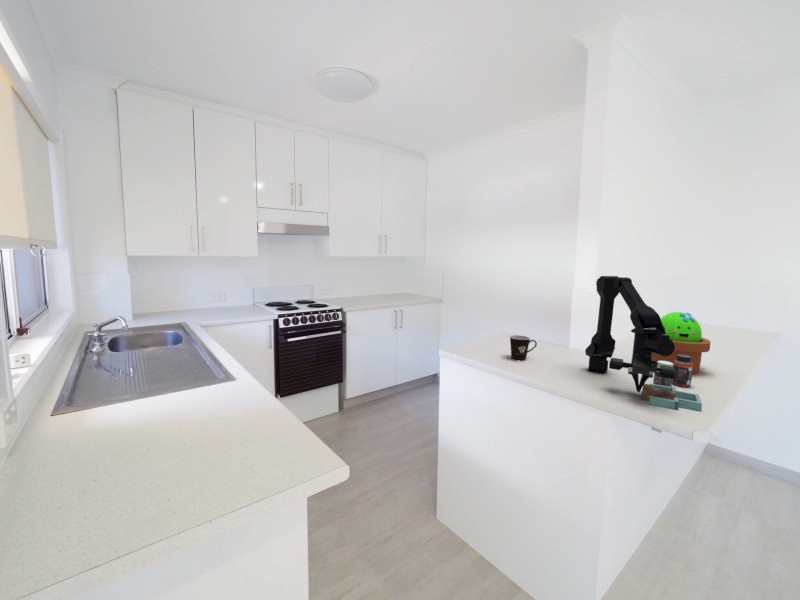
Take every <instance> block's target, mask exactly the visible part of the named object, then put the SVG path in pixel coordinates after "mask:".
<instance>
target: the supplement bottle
mask: <svg viewBox="0 0 800 600" xmlns="http://www.w3.org/2000/svg"><path fill="white" fill-rule="evenodd" d="M690 360H691V357H690V356H688V355H682V354H679V355H677V359H676V360H674V362H673V368H674V370H675V378H674V379H673V383H672V385H675V386H678V387H682V388H689V387H691V386H692V385H691V384H692V377H693V374H692V371H693V363H692V362H691V361H690Z"/></svg>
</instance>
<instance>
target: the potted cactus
mask: <svg viewBox="0 0 800 600" xmlns="http://www.w3.org/2000/svg"><path fill="white" fill-rule="evenodd" d="M660 319H661V321H662V324H663V326H664V328H665V332H666V334H665V335H669V336H670V338H669V339H670V340H672V341H673V343H674V346H675V349H674V352H673V353H672V354H671V355H669V356H661V355H658V354H656V353H653V355H652V361H657V362H658V361H668V362H671V363H673V362H674V360H676V359H677V355H679V354H682V355H688V356H690V357H691V360H690V361H691V362H692V363H693V371H692V375H695V374H698V373H699V372H700V371H701V362H702V353H707V352H710V349H711V341H710V340H709V339H707V338H705V337H703V331H702V328H701V325H702V324H701V323H700V322H698V320H697V319H696V318H694V317H693V315H692V314H691V313H689V312H682V311H681V312H680V311H675V312H673V311H669V312H668V313H667V314H665V315H662V317H660ZM699 323H700V324H699ZM655 329H656V328H655ZM657 366H658V365H657Z"/></svg>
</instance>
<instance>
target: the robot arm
mask: <svg viewBox="0 0 800 600" xmlns="http://www.w3.org/2000/svg"><path fill="white" fill-rule="evenodd" d="M595 282H596V283H595V285H596V292H597V293H598V296H599V309H598V317H597V318H598V319H597V326H596V332H595V333H594V335H593V336H592V337H591V341H590V343H589V345H588V346H587V347H586V348H585V355H586V356H588V357H589V359H588V368H587V371H588V372H591V373H592V372H593V373H599V374H604V375H605V374H606V372H608V370H609V369H610V370H611V369H612V370H617V371H620V370H622V369H627V374H628V375H631V376H632V379H633V381H634V385H635V389H636V392H638V393H640V392H641V390H642V389H643V385H644V384H646V383H645V382H647V380H648V379H649V378H651V379H654V373H660V375H661V376H662V377H663V378H669V379H674V378H675V370H674V368H673V367H670V366H664V365H660V368H658V367H657V365H658V362H657V361H652V355H653V353H656V354H658V355H661V356H669V355H671V354H672V353H673V352H674V349H675V346H674V343H673V341H672V340H670V339H669V338H670V336H669V335H665V334H666V332H665V328H664V326H663V324H662V321H661V319H660V318H661V317H660V315H659V313H658V312H657V311H656V310H655V309H654V308H652V307H651V306H649V305H647V304H646V302H645V301H644V300H643V298H642V297H641V295H640V293H639V292H638V291H637V289H636V287H635V286H634V284H633V280H632V278H631V277H630V278H629V277H624V276H623V277H621V276H620V277H619V276H617V275H601V276H599V278H597V280H596V281H595ZM619 294H620V295H621V297H622V299H623V300H624V302H625V304H626V305H627V308H628V309H629V310H630V315H629V318H630V320H631V323H632V325H633V327H634V328H633V329H631V330H630V332H631V333H632V334H634V335H633V336H634V338H633V347H632V355H631V356H632V357H631V361H630V362H624V359H623V358H618V357H617V358H616V357H613V355H614V351H615V350H616V342H617V341H616V339H614V337H613V336H612V334H611V333H612V323H613V317H614V306H615V299H616V298H617V296H618V295H619ZM655 328H656V329H655ZM608 358H610V360H608ZM640 375H641V376H640ZM639 376H640V377H639ZM639 378H640V379H639ZM639 380H640V381H639Z"/></svg>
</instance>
